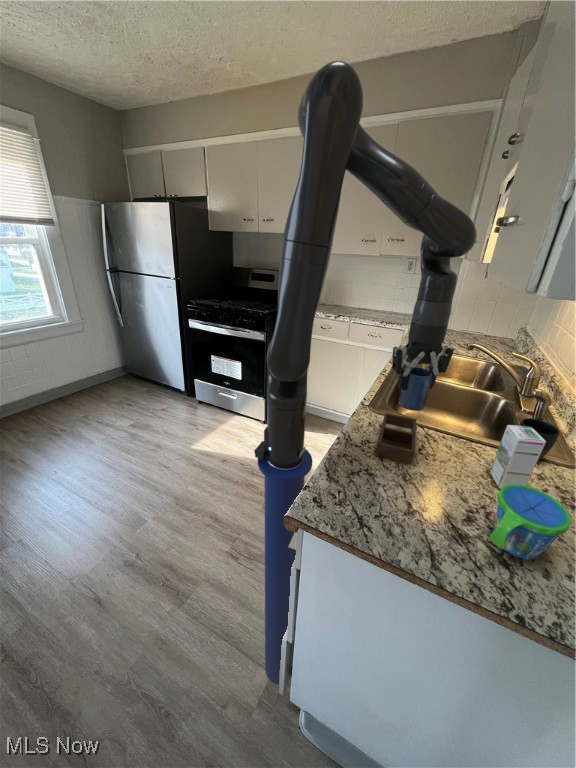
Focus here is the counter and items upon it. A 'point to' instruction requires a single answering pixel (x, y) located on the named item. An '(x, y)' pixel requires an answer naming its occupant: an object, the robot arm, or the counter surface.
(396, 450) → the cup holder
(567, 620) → the counter surface
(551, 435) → the mug
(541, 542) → the snack cup
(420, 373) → the tumbler
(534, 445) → the syrup box
